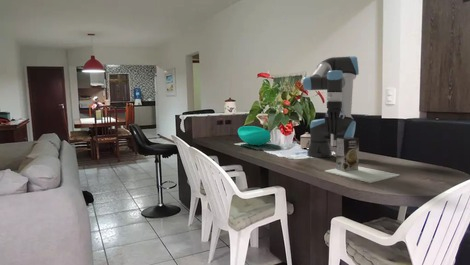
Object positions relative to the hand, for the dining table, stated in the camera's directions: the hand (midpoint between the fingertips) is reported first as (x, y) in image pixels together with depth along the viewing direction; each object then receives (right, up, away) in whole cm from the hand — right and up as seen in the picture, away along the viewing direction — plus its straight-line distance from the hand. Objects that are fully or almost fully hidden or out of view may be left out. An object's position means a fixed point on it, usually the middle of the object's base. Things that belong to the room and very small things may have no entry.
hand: (333, 146), depth 172 cm
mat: (+9, -13, -13) cm, 21 cm away
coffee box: (+5, -12, -6) cm, 14 cm away
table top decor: (-35, -3, +84) cm, 91 cm away
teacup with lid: (+1, -5, +66) cm, 66 cm away
